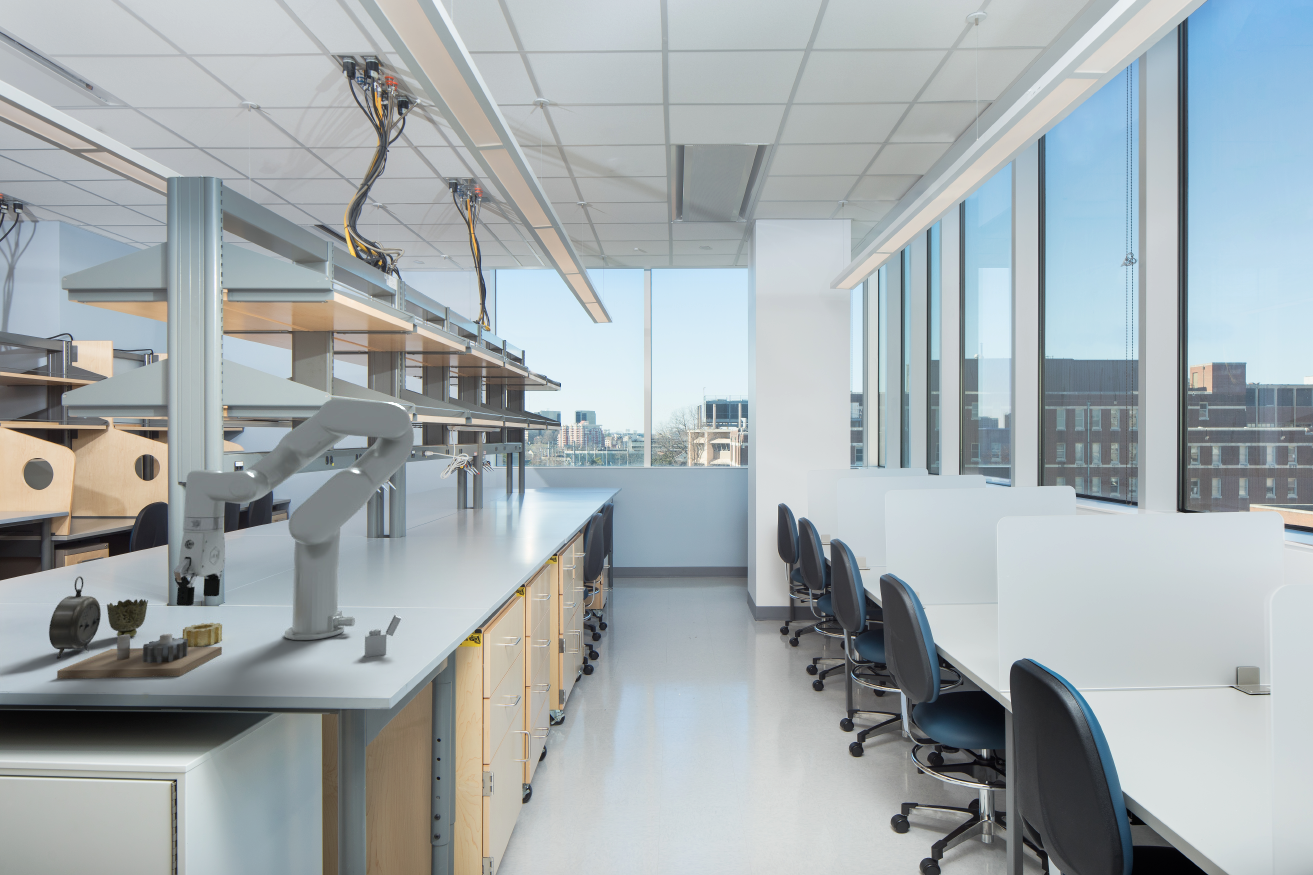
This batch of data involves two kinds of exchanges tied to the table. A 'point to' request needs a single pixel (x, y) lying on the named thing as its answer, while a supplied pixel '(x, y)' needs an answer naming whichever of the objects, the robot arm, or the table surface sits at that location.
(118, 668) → the gear board
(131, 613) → the cup
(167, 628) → the table surface
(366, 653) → the lighter
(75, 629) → the alarm clock
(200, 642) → the brass gear
